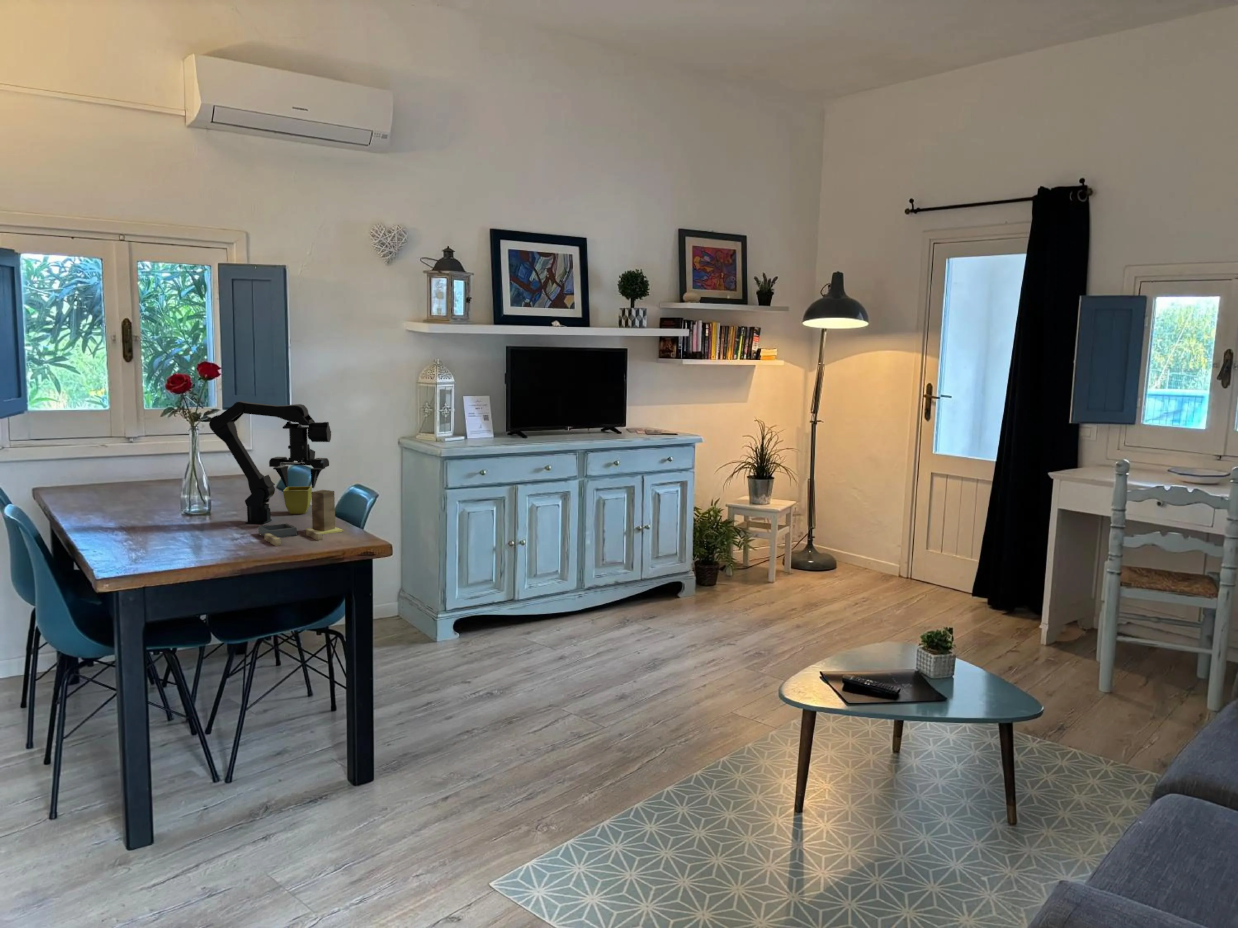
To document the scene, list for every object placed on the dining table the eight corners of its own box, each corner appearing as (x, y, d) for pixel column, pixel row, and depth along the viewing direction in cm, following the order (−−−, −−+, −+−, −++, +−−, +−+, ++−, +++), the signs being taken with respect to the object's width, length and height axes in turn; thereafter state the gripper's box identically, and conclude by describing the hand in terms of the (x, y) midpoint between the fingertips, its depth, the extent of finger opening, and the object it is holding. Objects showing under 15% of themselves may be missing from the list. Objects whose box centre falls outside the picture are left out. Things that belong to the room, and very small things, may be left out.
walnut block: (312, 529, 292) (311, 491, 290) (323, 527, 296) (322, 489, 294) (324, 531, 290) (323, 493, 288) (335, 528, 294) (334, 490, 292)
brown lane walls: (264, 539, 279) (264, 533, 278) (310, 534, 288) (310, 528, 288) (275, 545, 271) (275, 539, 271) (322, 539, 280) (322, 533, 280)
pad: (305, 530, 293) (305, 528, 293) (332, 526, 299) (332, 525, 299) (315, 535, 287) (315, 533, 287) (343, 531, 292) (343, 529, 292)
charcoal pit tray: (258, 533, 287) (258, 526, 286) (286, 530, 293) (286, 523, 292) (268, 539, 280) (267, 531, 280) (296, 535, 286) (296, 527, 285)
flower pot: (283, 515, 317) (282, 490, 316) (287, 510, 325) (286, 486, 324) (309, 515, 319) (308, 490, 317) (312, 510, 327) (312, 486, 326)
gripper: (334, 440, 309) (336, 484, 311) (282, 438, 311) (283, 483, 313) (321, 443, 298) (323, 489, 300) (267, 442, 300) (269, 488, 302)
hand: (300, 487), depth 304 cm, fingers open, 9 cm apart
